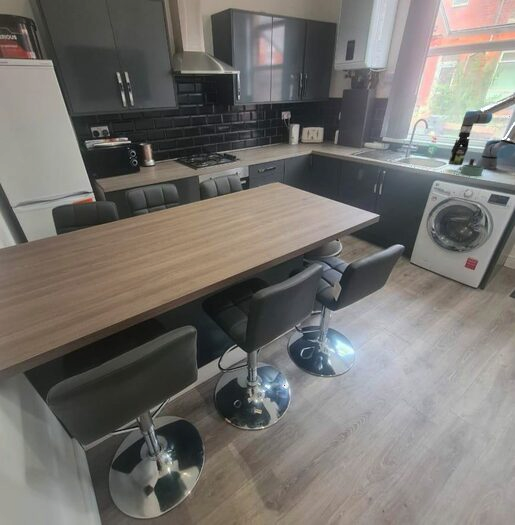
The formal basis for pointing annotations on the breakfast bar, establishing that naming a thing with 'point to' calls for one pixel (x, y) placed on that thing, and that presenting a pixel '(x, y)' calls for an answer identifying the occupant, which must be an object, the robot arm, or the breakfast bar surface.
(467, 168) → the pot
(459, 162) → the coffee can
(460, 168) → the pot lid
